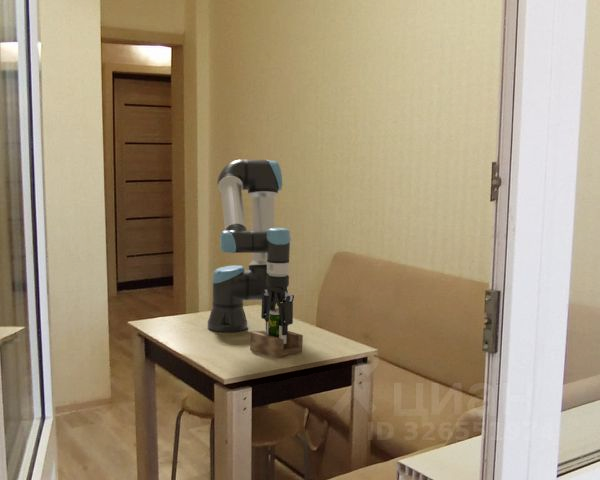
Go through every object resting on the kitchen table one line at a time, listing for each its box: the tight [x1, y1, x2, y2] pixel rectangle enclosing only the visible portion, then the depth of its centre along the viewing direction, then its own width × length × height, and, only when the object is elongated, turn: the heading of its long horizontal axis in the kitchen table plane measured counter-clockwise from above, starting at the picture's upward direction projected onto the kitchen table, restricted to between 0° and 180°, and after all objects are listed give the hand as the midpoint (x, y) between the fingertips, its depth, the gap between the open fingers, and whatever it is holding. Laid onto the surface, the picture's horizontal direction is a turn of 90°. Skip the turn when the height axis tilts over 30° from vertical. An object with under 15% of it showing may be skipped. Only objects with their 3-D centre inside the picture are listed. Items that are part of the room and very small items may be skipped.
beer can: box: [268, 307, 285, 338], centre depth 231 cm, size 5×5×12 cm
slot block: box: [249, 330, 304, 360], centre depth 232 cm, size 14×11×6 cm
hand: (276, 342), depth 232 cm, fingers closed on beer can, 5 cm apart
